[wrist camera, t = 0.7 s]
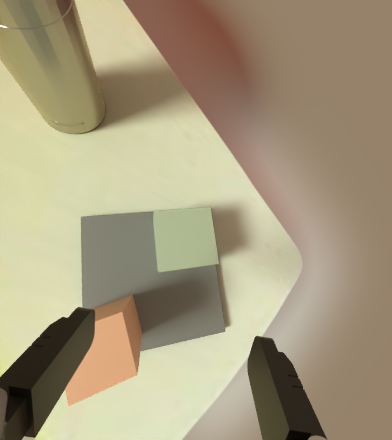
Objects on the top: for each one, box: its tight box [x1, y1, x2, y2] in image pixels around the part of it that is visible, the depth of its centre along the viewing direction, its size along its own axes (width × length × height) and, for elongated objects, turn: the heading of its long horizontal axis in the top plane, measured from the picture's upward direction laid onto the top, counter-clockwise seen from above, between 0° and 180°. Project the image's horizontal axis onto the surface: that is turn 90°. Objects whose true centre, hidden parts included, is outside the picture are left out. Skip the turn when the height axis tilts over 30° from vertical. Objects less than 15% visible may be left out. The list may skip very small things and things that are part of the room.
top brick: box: [65, 295, 142, 406], centre depth 20 cm, size 5×5×10 cm
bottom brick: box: [153, 207, 219, 272], centre depth 26 cm, size 7×7×6 cm
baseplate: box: [81, 212, 225, 351], centre depth 28 cm, size 18×18×1 cm
